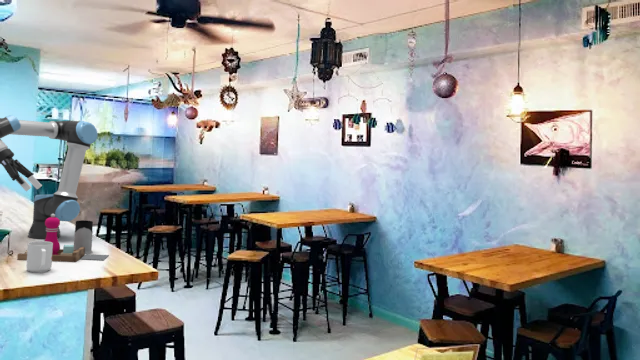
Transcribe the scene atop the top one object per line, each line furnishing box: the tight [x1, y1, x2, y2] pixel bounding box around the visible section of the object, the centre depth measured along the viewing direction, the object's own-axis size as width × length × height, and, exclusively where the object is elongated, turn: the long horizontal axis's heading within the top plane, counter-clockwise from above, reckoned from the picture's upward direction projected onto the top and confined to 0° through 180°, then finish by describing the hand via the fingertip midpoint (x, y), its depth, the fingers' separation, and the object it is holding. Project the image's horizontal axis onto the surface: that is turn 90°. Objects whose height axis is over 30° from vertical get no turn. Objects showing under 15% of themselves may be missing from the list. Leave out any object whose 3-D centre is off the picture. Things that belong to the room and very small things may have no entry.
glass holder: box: [73, 219, 94, 255], centre depth 234 cm, size 9×14×15 cm, turn 27°
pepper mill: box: [44, 214, 61, 255], centre depth 216 cm, size 7×7×20 cm
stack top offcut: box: [62, 244, 74, 253], centre depth 218 cm, size 4×4×3 cm
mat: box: [79, 253, 110, 261], centre depth 223 cm, size 10×10×1 cm
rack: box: [16, 247, 86, 263], centre depth 217 cm, size 14×24×4 cm, turn 101°
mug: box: [25, 240, 53, 273], centre depth 194 cm, size 12×9×11 cm
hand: (34, 188), depth 222 cm, fingers open, 13 cm apart
